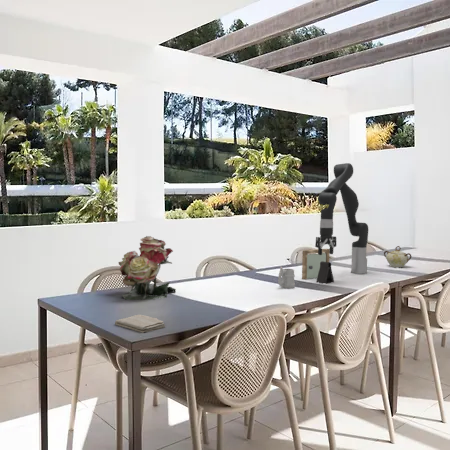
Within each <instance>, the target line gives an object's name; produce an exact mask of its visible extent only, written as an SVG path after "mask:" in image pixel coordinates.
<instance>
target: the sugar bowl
mask: <svg viewBox="0 0 450 450" xmlns="http://www.w3.org/2000/svg"><path fill="white" fill-rule="evenodd" d="M398 248H399V249H398ZM401 249H402V248H401V247H400V245H398V246H396V247H395V249H394V250H392V251H388V250H385V251H384V252H383V255H384V257H385V259H386V261H387V263H388V264H389V266H390V267H391V268H395V267H402V268H404V266H406V264H408V263H409V261H410V260H411V259H412V254H411V253H409V252H408V253H406V252H404V251H402V250H401ZM386 253H387V254H386Z"/></svg>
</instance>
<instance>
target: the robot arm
mask: <svg viewBox="0 0 450 450" xmlns="http://www.w3.org/2000/svg"><path fill="white" fill-rule="evenodd" d="M333 174H334V177H335V178H334V179H333V180H332V181H330V183H329V184H328V186H327V187H326V188H325V189H323V190H322V191H321V192H320V193H319V194H318V196H317V201H318V203H319V205H326V206H327V205H328V207H327V208H323V209H321V210H320V221H319V235H320V236H316V237H315V246H314V247H315V248H317V249H318V253H317V254H319V255H322V249H323V247H324V246H325V245H328V246H329V249H330V250H329V255H334V248H335V247H337V236H333V234H334V211H335V206H336V203H337V200H338V199H337V198H338V197H337V195H338V193H339V192H340V195H341V200H342V203H343V206H344V209H345V214H346V217H347V224H348V230H349V233H350V235H351V236H353V237H358V239H357V240H356V241H353V242H352V243H351V268H350V269H351V270H350V273H352V274H355V275H356V274H357V275H365V274H367V273H368V258H367V246H368V239H369V225H368V223H366V222H358V221H357V218H356V214H357V211H358V209H359V203H360V202H359V199H358V196H357V194H356V192H355V191H354V189H352V188H351V187H350V186H349V185H348V184H347V182H348V181H349V180H350V179H351V178H352V176H353V174H354V167H353V164H351V163H347V162H346V163H340V164H339V163H338V164H335V165H334V166H333Z"/></svg>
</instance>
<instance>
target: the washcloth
mask: <svg viewBox="0 0 450 450" xmlns="http://www.w3.org/2000/svg"><path fill="white" fill-rule="evenodd" d="M114 325H115V326H118V327H123V328H126V329H130V330H133V331H136V332H140V333H142V334H144V333H147V332H148V333H149V332H152V331H156V330H160V329H163V328H166V324H165V323H164V320H161V319H158V318H157V317H151V316H148V315H143V314H135V315H132V316H129V317H123V318H120V319H117V320H115V322H114Z"/></svg>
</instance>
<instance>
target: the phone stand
mask: <svg viewBox="0 0 450 450" xmlns="http://www.w3.org/2000/svg"><path fill="white" fill-rule="evenodd" d="M318 282H319V284H323V283H326V284H332V283H331V282H333V283H334V282H335V280H334V274H333V270H332V263H331V262H330V261H329V262H323V261H322V262H320V269H319V273H318V277H317V278H316V283H318Z"/></svg>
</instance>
